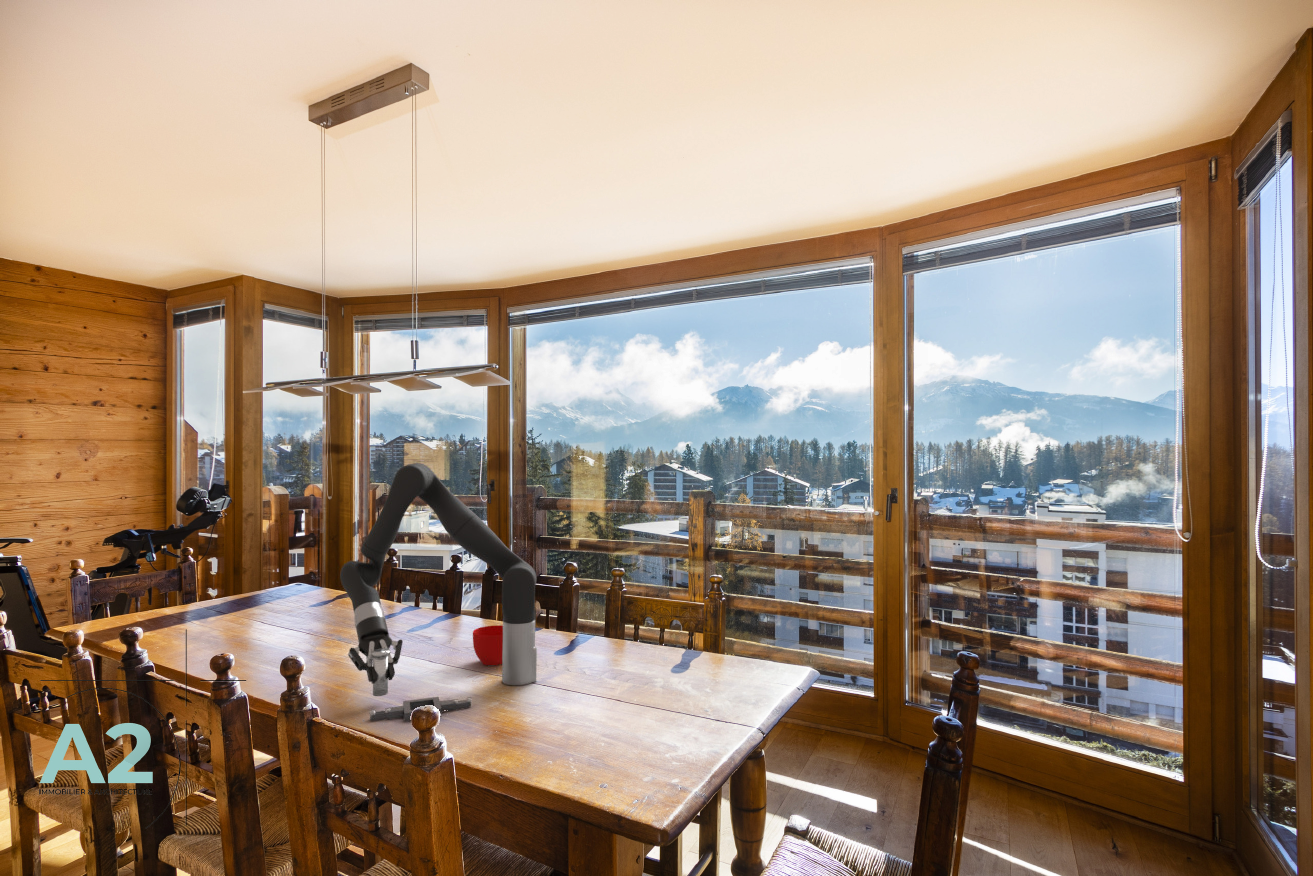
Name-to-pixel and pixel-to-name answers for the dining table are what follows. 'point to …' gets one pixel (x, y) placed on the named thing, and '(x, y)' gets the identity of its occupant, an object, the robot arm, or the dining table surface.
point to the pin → (380, 671)
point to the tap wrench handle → (412, 704)
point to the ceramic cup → (489, 644)
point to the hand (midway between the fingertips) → (382, 679)
